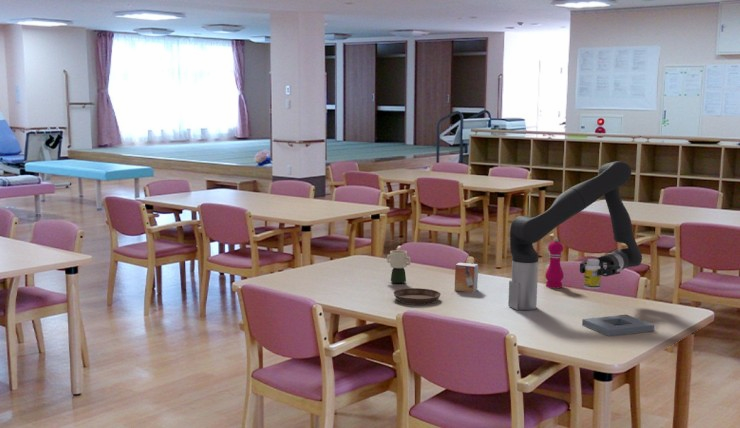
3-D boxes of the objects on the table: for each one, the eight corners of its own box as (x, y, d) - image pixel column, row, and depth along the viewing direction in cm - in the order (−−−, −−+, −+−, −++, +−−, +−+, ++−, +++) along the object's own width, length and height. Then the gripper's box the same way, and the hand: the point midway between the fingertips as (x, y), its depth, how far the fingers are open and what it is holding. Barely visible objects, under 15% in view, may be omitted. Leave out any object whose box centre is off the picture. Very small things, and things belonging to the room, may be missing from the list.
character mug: (414, 282, 336) (414, 251, 334) (405, 286, 330) (406, 254, 328) (391, 279, 342) (391, 248, 340) (382, 282, 336) (382, 251, 334)
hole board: (608, 336, 262) (609, 330, 262) (582, 324, 275) (582, 319, 275) (653, 330, 269) (654, 324, 269) (625, 320, 282) (626, 314, 281)
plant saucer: (409, 293, 320) (409, 285, 319) (449, 299, 309) (449, 291, 309) (384, 301, 305) (384, 293, 305) (424, 309, 295) (424, 300, 295)
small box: (454, 290, 323) (454, 264, 321) (458, 287, 328) (458, 262, 326) (473, 292, 320) (474, 266, 318) (477, 289, 325) (478, 263, 323)
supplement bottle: (581, 285, 284) (583, 258, 283) (596, 285, 285) (598, 258, 284) (587, 289, 279) (588, 261, 278) (602, 289, 280) (604, 261, 278)
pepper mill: (563, 288, 328) (565, 239, 325) (545, 287, 329) (546, 238, 326) (562, 285, 335) (565, 236, 332) (544, 284, 336) (546, 235, 333)
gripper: (590, 251, 296) (570, 257, 283) (629, 256, 287) (610, 263, 274) (589, 271, 297) (569, 279, 284) (628, 277, 288) (609, 285, 275)
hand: (589, 271), depth 279 cm, fingers closed on supplement bottle, 5 cm apart
